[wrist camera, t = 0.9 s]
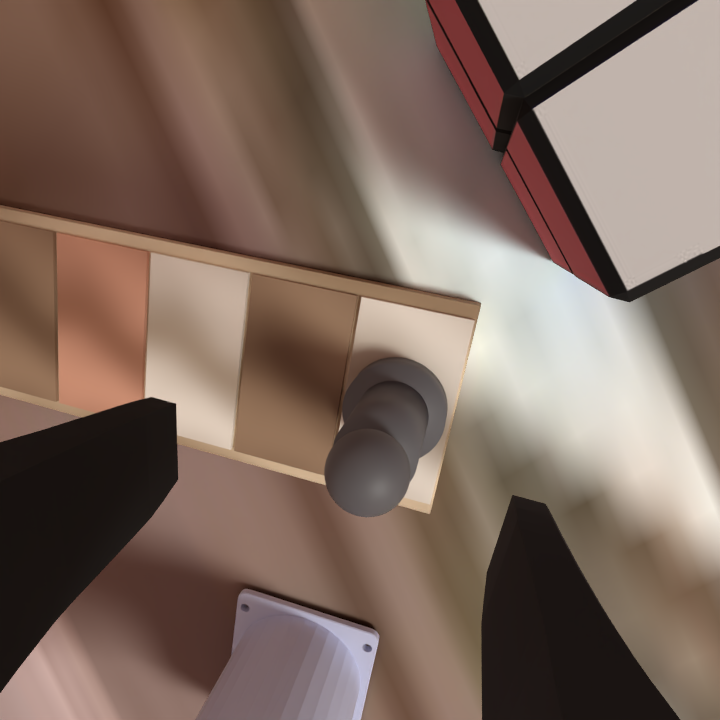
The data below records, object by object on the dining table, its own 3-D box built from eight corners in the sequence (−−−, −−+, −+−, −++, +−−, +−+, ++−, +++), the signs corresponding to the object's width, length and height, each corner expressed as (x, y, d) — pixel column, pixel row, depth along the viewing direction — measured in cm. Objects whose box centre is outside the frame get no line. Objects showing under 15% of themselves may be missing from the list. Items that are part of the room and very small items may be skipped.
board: (431, 505, 24) (429, 516, 23) (-5, 385, 29) (-22, 390, 28) (480, 302, 21) (480, 306, 20) (-16, 201, 26) (-35, 201, 25)
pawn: (435, 461, 23) (415, 575, 15) (342, 437, 23) (280, 534, 16) (457, 369, 21) (446, 447, 14) (357, 347, 22) (297, 409, 15)
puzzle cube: (555, 269, 20) (619, 312, 11) (432, 41, 19) (387, -127, 10) (836, 117, 17) (1262, -2, 8) (708, -168, 16) (1029, -711, 7)
